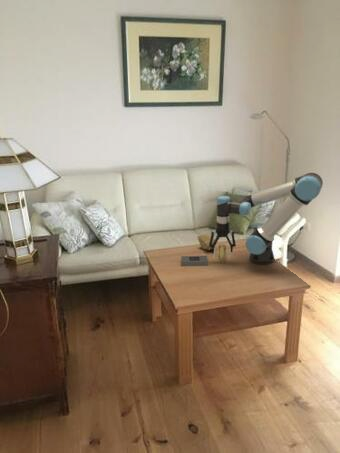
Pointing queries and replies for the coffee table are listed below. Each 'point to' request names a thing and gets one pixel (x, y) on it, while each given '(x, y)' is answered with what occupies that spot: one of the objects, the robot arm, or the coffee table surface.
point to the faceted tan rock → (205, 241)
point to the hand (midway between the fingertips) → (222, 257)
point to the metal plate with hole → (194, 260)
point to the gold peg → (222, 254)
